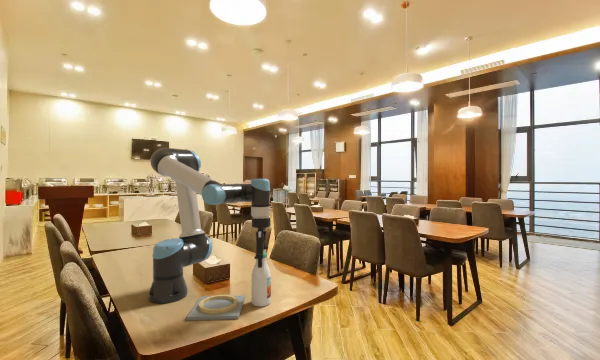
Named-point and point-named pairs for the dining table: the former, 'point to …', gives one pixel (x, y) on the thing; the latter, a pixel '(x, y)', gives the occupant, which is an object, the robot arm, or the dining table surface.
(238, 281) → the dining table surface
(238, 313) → the ring board
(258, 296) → the milk bottle
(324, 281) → the dining table surface
